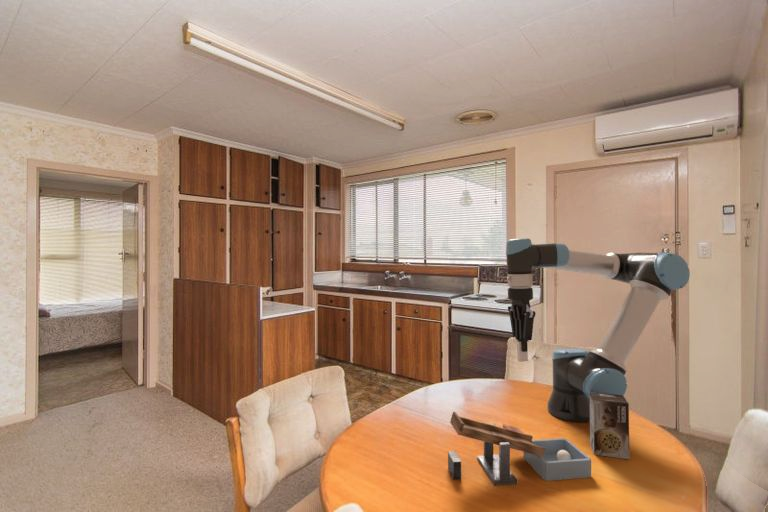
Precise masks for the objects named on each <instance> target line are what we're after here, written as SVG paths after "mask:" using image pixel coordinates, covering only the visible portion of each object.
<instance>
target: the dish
mask: <svg viewBox="0 0 768 512" xmlns="http://www.w3.org/2000/svg"><path fill="white" fill-rule="evenodd" d="M532 442H533V443H534V444H535V445H537V446H541V447H544V448H545V451H544V455H543V457H542V456H538V455H535V454H531V453H527V452H523V451H522V452H523V455H522V456H523V458H524V460H526V462H527V463H528V464H529V465H530V467H532V468H533V470H534V471H535V472H536V473H537V474H538V476H540V477H541V478H542V480H544V481H547V482H548V481H550V482H551V481H560V480H562V481H563V480H574V479H575V480H576V479H584V478H585V479H586V478H591V477H592V458H591V457H589V456H588V455H587V454H586V453H584V452H583V451H582V450H581V449H580V448H578V447H577V446H576V445H575V444H574V443H572V442H571V441H570V440H569V439H568V438H565V437H560V438H557V437H556V438H545V439H532ZM560 450H565V451H567V452H568V453H569V454H570V456H571V460H559V461H558V459H557V453H558V451H560Z"/></svg>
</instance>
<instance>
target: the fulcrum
mask: <svg viewBox="0 0 768 512" xmlns="http://www.w3.org/2000/svg"><path fill="white" fill-rule="evenodd" d="M489 424H490V425H494V424H493V423H489ZM498 448H499V449H498V454H497V453H496V454H494V444H492V443H488V442H484V441H483V455H477V457H476V460H477V461H478V463H479V464H480V466H481V467H482V469H483V470H484V472H485V473H486V474H487V476H488V478H489V480H490V481H491V482H492V484H493V486H502V485H503V486H504V485H517V484H518V479H517V478H516V476H515V475H514V473H513V472H512V471H511V448H510V444H509V443H508V442H503V443H499V445H498ZM447 469H448V471H449V474H450V475H451V478H452V480H453V481H456V480H462V461H461V458H460V457H459V455H458V454H457V452H456V451H447Z"/></svg>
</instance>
